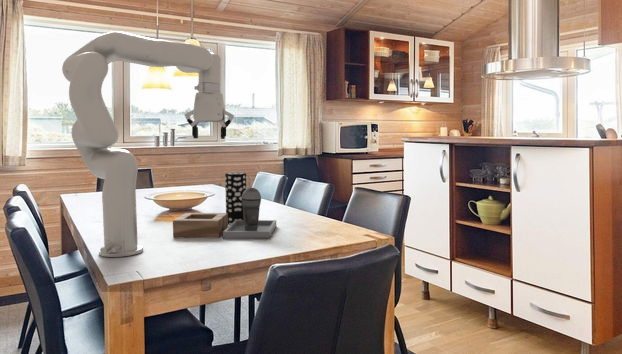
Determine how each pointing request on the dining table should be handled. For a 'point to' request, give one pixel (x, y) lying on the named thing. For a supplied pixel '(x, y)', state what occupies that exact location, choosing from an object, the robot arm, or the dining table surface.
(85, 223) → the dining table surface
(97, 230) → the dining table surface
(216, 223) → the walnut sleeve
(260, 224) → the slate tray
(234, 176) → the spotted tube
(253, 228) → the beverage cup
